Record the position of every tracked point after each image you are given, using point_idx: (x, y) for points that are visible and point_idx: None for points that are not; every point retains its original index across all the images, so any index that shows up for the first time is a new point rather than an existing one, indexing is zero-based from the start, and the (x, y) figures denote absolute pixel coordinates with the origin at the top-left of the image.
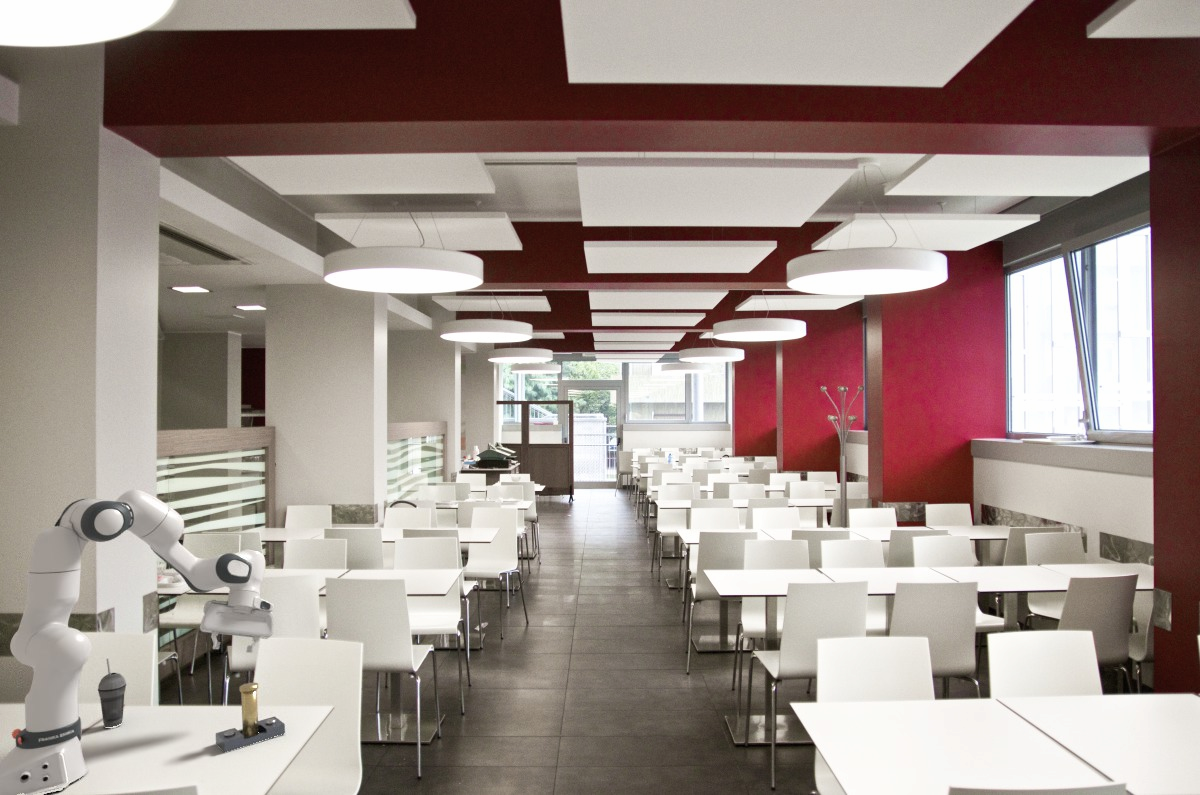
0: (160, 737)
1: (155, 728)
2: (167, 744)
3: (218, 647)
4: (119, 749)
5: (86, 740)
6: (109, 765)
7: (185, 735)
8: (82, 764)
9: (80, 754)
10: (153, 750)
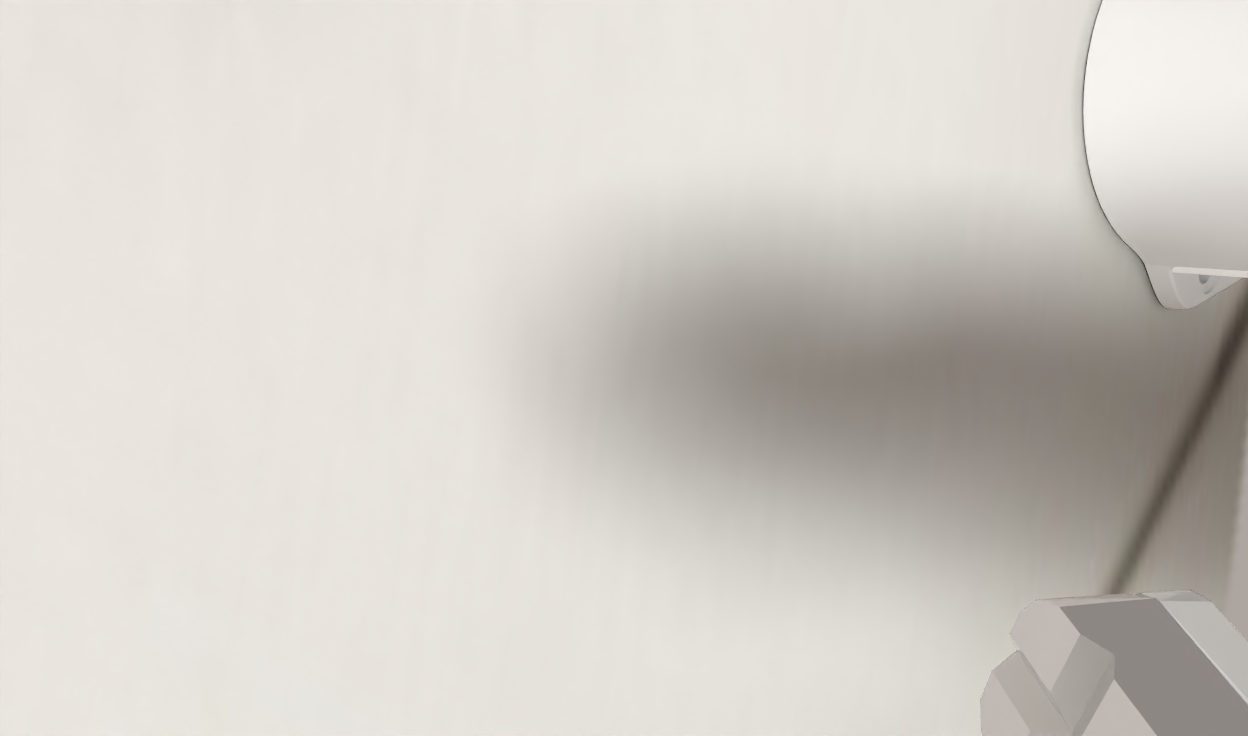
0: (701, 425)
1: (697, 671)
2: (687, 208)
3: (1073, 602)
4: (918, 355)
5: None
6: (996, 78)
7: (545, 332)
8: (1172, 10)
9: (1244, 15)
10: (778, 148)
